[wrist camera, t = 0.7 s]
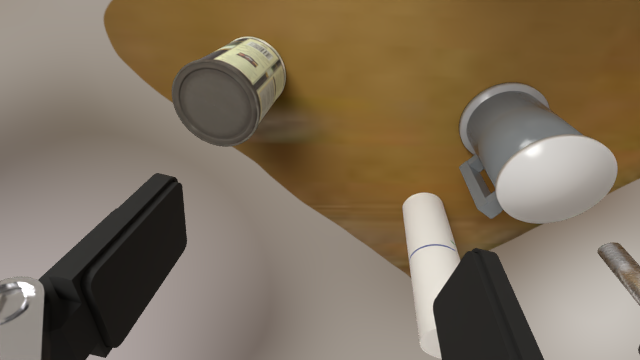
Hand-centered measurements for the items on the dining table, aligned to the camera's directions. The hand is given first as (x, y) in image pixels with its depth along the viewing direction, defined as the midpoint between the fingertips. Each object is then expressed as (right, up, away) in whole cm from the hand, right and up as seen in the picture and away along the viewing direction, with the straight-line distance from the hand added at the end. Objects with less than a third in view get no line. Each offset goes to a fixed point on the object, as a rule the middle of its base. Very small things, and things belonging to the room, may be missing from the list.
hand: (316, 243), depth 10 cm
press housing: (+26, +10, +36) cm, 46 cm away
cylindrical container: (+19, -3, +47) cm, 50 cm away
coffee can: (-10, +18, +37) cm, 42 cm away
